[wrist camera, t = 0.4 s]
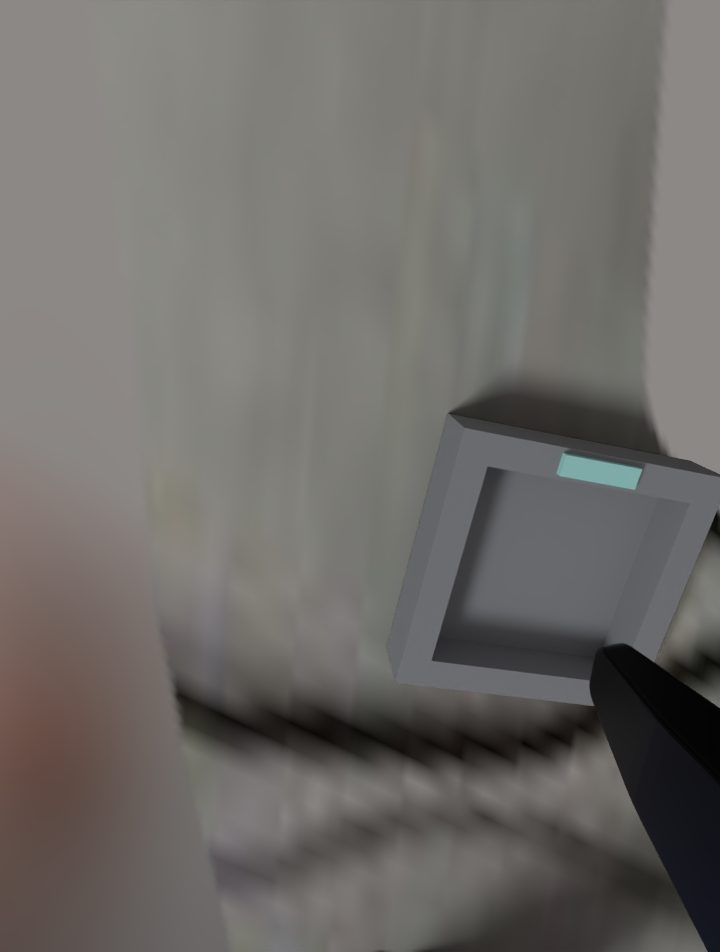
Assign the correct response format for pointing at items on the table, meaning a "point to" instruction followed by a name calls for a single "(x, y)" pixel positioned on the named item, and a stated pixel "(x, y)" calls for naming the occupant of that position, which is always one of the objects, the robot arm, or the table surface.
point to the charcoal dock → (543, 560)
